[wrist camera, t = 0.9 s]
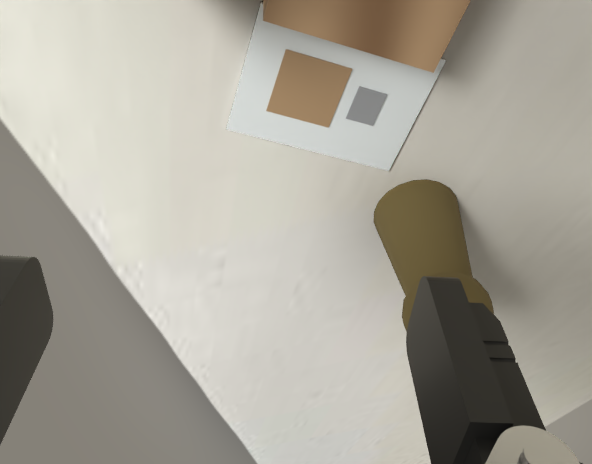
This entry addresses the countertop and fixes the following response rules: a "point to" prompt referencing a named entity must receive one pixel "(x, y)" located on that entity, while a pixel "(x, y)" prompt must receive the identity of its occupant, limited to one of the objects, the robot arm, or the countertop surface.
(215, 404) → the countertop surface
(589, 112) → the countertop surface
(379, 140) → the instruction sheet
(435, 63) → the base brick
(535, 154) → the countertop surface
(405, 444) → the countertop surface
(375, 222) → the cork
